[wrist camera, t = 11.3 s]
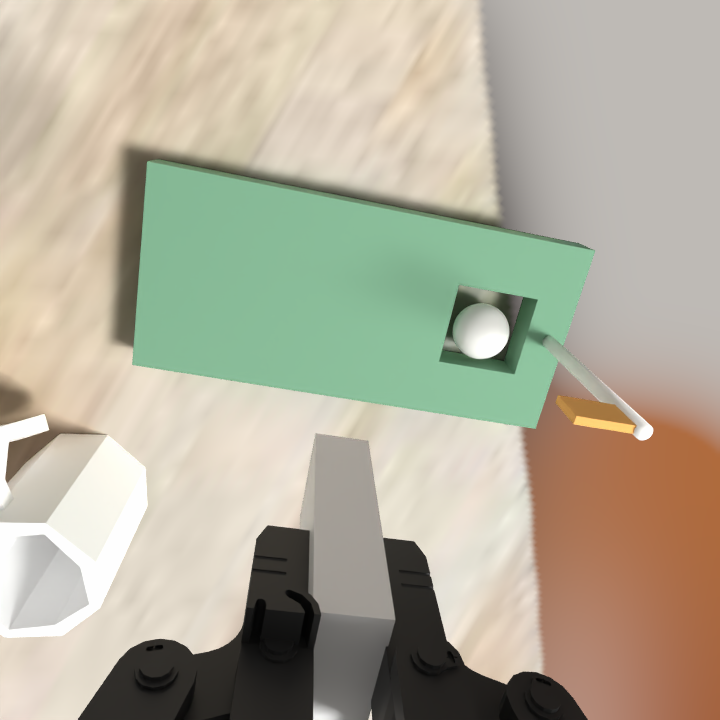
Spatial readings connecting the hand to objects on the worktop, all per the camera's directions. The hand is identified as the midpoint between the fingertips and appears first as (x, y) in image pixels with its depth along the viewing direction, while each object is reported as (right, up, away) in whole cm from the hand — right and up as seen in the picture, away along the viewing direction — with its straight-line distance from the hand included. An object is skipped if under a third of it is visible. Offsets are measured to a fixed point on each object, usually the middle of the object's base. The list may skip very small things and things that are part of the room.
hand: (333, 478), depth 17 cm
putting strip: (+1, +7, +21) cm, 23 cm away
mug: (-19, -4, +25) cm, 31 cm away
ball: (+8, +5, +21) cm, 23 cm away
